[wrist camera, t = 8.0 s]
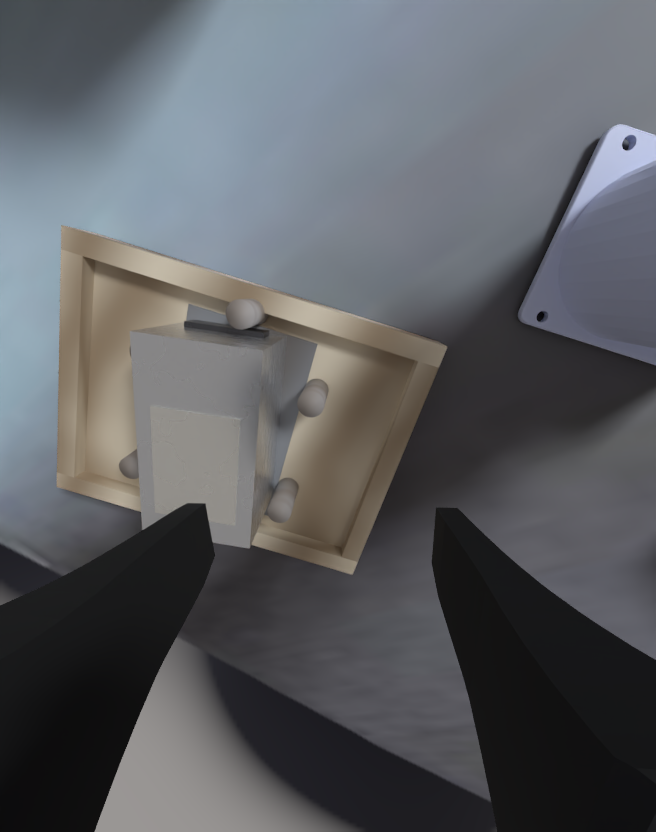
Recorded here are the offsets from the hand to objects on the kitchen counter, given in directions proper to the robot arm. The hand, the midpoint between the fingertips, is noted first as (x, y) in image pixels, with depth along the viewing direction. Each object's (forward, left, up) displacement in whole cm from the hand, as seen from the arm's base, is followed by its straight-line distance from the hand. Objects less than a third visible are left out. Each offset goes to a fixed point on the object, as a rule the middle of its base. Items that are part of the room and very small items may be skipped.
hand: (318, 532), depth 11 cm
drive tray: (+5, +1, -9) cm, 11 cm away
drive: (+6, +1, -8) cm, 10 cm away
